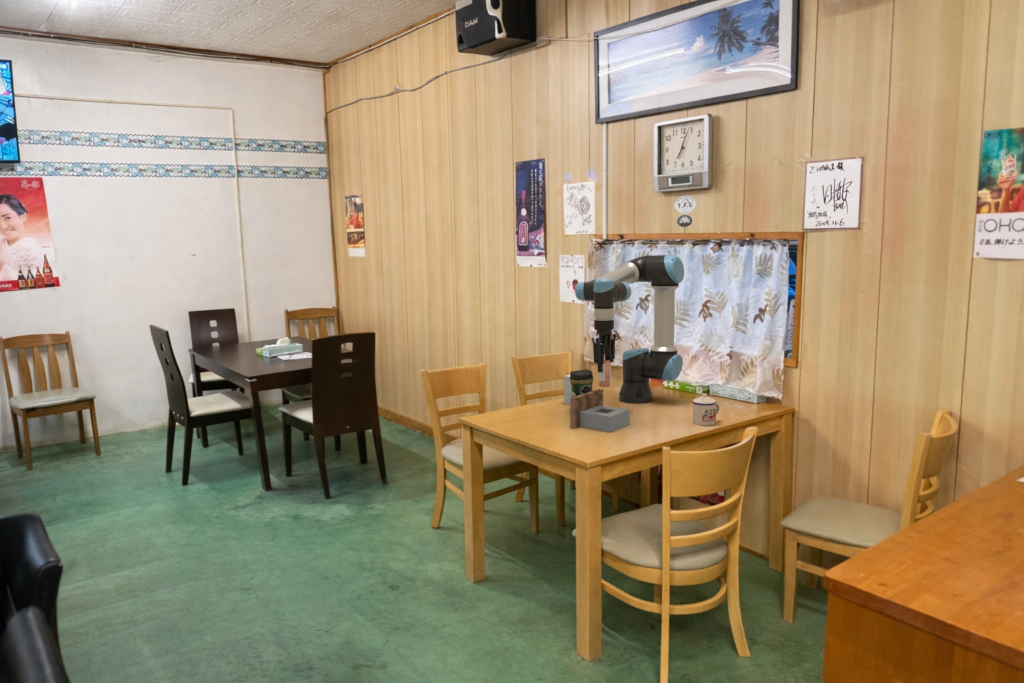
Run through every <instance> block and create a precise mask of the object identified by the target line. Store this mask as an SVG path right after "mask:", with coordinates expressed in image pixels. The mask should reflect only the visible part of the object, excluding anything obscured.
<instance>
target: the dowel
mask: <svg viewBox="0 0 1024 683" xmlns="http://www.w3.org/2000/svg"><path fill="white" fill-rule="evenodd" d="M603 364H605V381H600V380H598V381H599V382H598V383H599V386H598V387H600V388H610V386H611V379H610V360H605V359H604V363H603Z"/></svg>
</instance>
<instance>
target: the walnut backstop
mask: <svg viewBox="0 0 1024 683" xmlns="http://www.w3.org/2000/svg"><path fill="white" fill-rule="evenodd" d="M599 405H602V406H604V389H601V388H600V389H599V388H598V389H595V390H592V391H591V392H588V393H585V394H581V395H578V396H575V397H572V398H570V406H569V412H570V413H569V414H570V415H569V416H570V417H569V418H570V419H569V420H570V422H569V424H570V429H578V428H581V427H580V412H581V411H584V410H587V409H590V408H593V407H596V406H599Z"/></svg>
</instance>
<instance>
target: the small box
mask: <svg viewBox="0 0 1024 683" xmlns="http://www.w3.org/2000/svg"><path fill="white" fill-rule="evenodd" d="M562 379H563V405H566V406H569V407H570V398H571V395H572V386H571V382H570V374H567V375H563V378H562Z"/></svg>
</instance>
